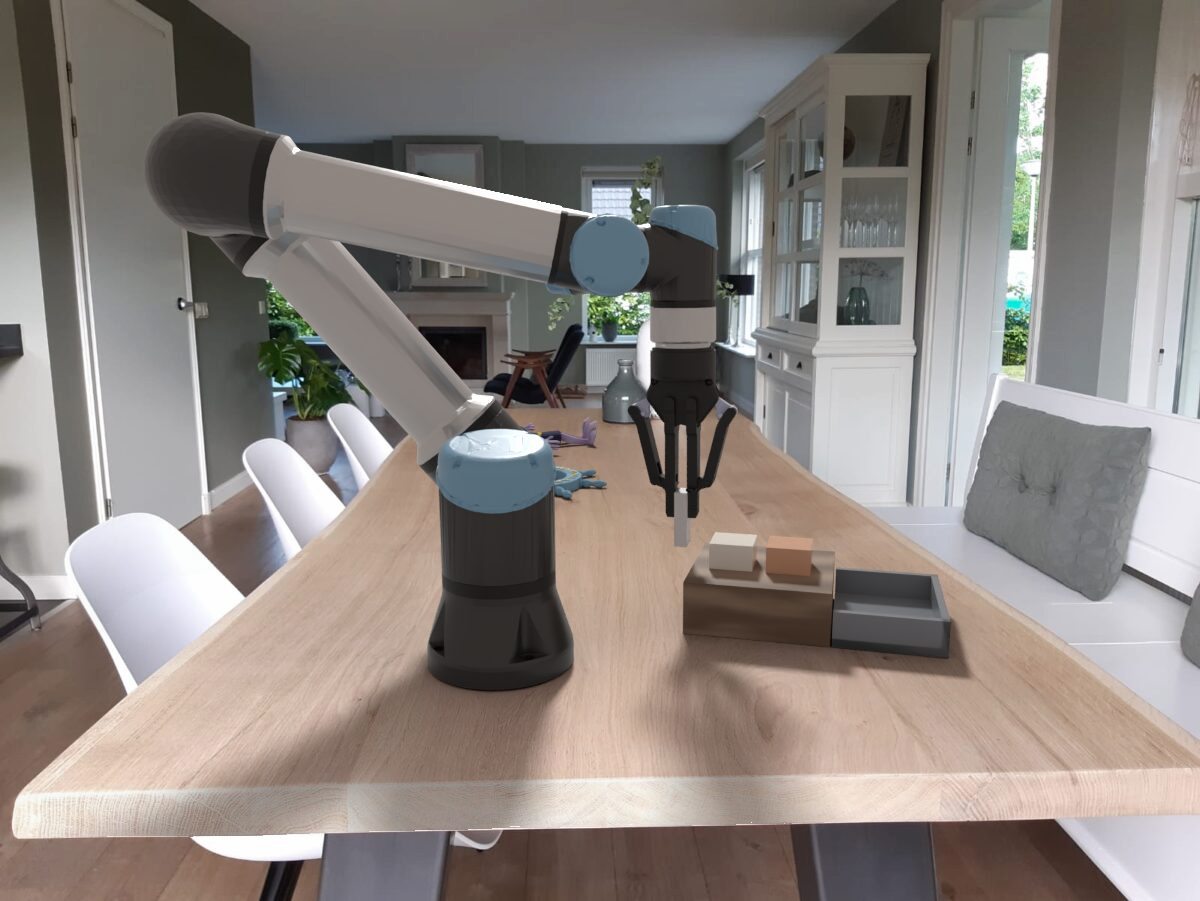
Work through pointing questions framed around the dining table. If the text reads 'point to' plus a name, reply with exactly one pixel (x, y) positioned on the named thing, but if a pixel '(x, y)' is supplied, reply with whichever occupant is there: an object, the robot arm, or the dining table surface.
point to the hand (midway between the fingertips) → (682, 543)
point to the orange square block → (789, 555)
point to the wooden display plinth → (760, 601)
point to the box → (890, 613)
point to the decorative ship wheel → (573, 481)
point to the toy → (557, 436)
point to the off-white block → (733, 551)
